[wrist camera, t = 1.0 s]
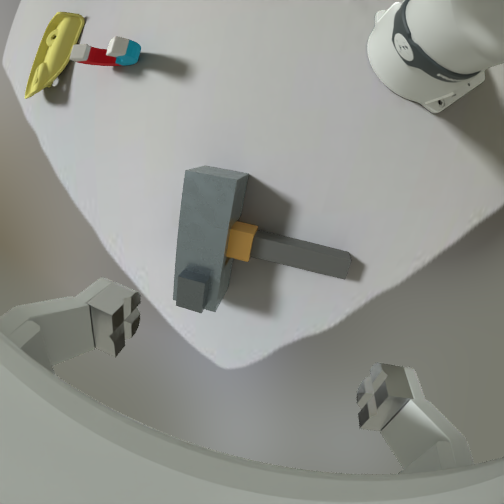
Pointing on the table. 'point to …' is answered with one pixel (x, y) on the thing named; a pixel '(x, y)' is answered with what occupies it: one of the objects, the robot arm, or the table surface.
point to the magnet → (108, 53)
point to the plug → (286, 251)
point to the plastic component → (54, 51)
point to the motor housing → (206, 235)
